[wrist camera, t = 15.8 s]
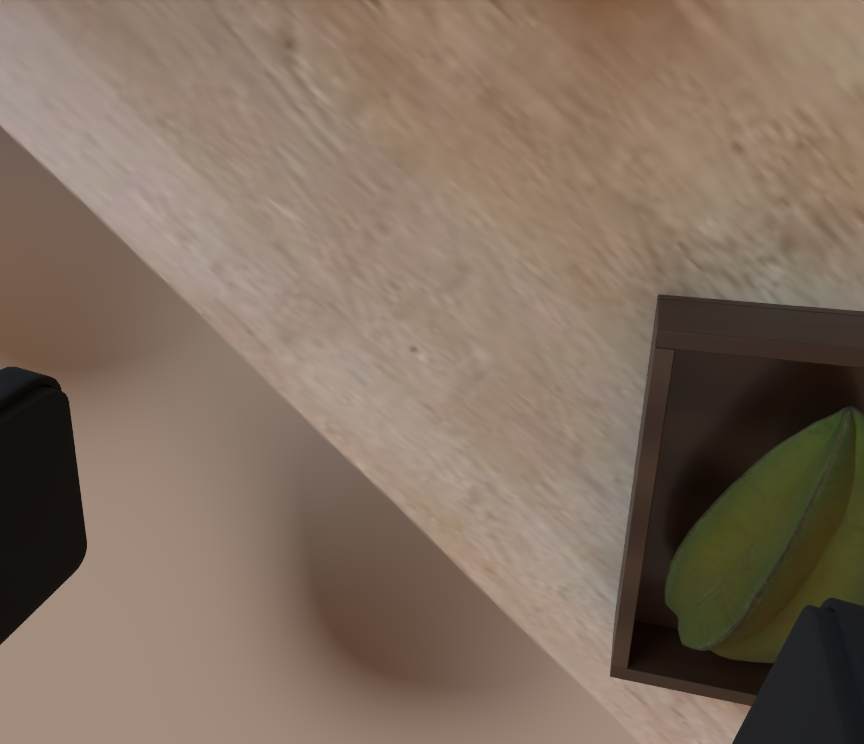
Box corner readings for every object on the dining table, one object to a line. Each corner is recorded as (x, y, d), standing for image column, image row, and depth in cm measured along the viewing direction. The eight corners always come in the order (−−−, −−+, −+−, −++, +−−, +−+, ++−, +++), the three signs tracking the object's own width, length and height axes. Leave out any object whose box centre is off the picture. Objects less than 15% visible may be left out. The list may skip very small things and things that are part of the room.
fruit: (972, 658, 31) (907, 533, 36) (916, 480, 25) (849, 361, 30) (703, 708, 36) (679, 591, 41) (602, 567, 30) (589, 450, 35)
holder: (658, 293, 33) (657, 329, 30) (981, 320, 30) (1023, 364, 26) (614, 619, 42) (609, 676, 38) (860, 666, 39) (880, 733, 35)
